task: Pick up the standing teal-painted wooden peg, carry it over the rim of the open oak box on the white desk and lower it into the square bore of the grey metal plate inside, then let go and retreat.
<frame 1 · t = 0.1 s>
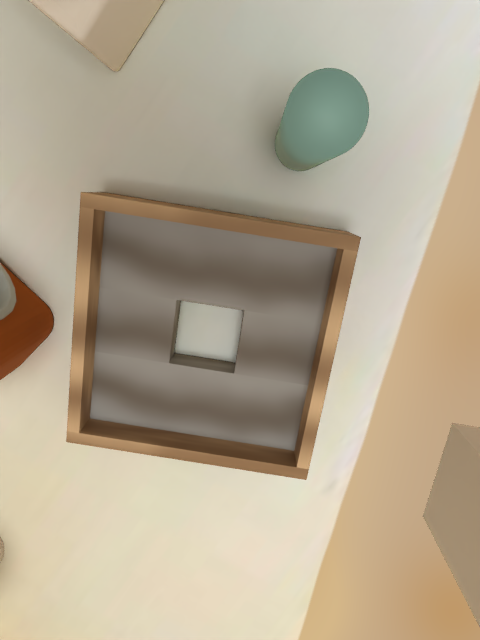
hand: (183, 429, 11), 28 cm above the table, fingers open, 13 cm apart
socket box: (209, 328, 40), on the table
peg: (300, 143, 36), on the table
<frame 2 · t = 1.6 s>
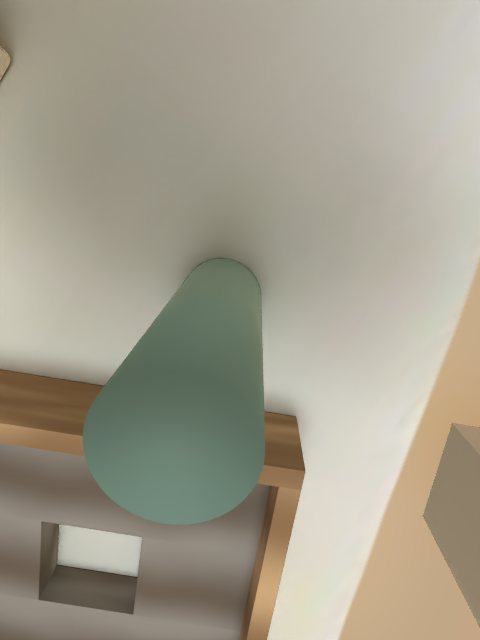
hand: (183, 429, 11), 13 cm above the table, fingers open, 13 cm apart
socket box: (103, 536, 28), on the table
peg: (222, 297, 23), on the table
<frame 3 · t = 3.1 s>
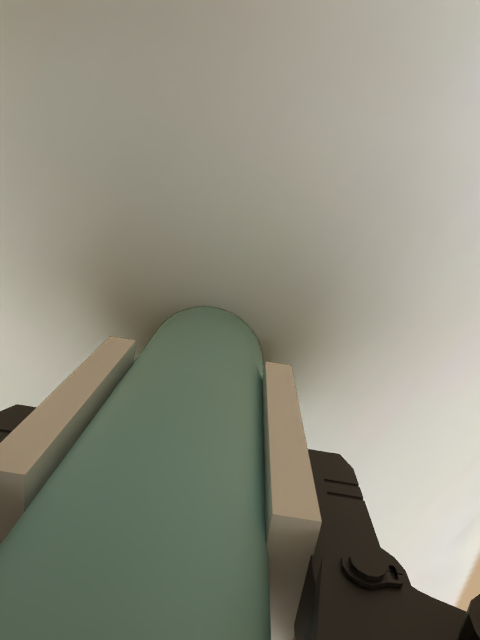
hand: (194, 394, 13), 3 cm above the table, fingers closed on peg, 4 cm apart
peg: (205, 362, 16), on the table, touching gripper
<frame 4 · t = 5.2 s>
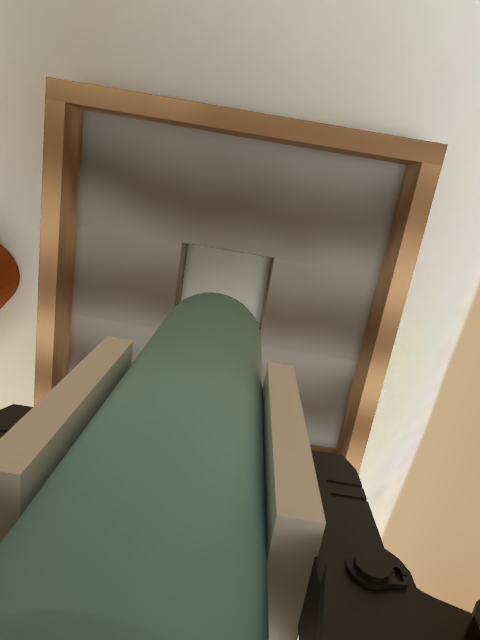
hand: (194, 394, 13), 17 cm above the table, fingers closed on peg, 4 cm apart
socket box: (224, 286, 30), on the table
peg: (211, 341, 18), point 12 cm above the table, touching gripper
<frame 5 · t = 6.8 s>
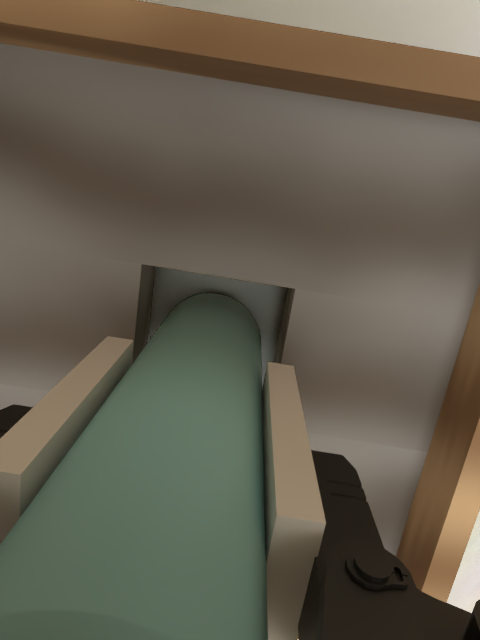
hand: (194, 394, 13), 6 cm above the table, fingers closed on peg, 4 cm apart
socket box: (214, 329, 19), on the table
peg: (210, 342, 18), point 1 cm above the table, touching gripper
when the fingers open (4 cm above the table, at t = 7.4 s): peg stays where it is, resting in socket box.
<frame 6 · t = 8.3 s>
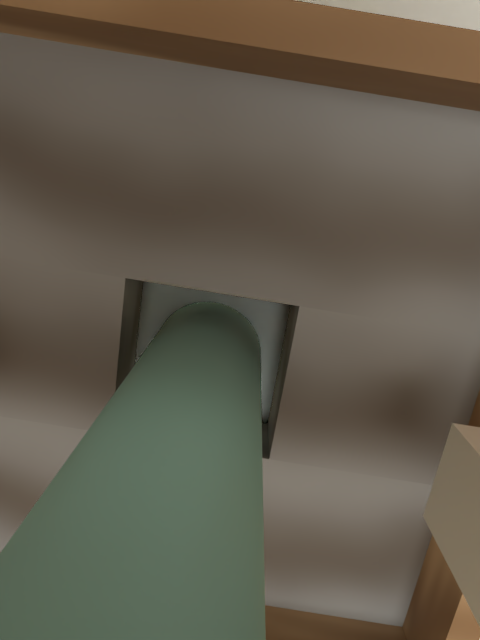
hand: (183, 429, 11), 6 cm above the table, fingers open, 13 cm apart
socket box: (208, 348, 17), on the table
peg: (208, 352, 18), resting in socket box
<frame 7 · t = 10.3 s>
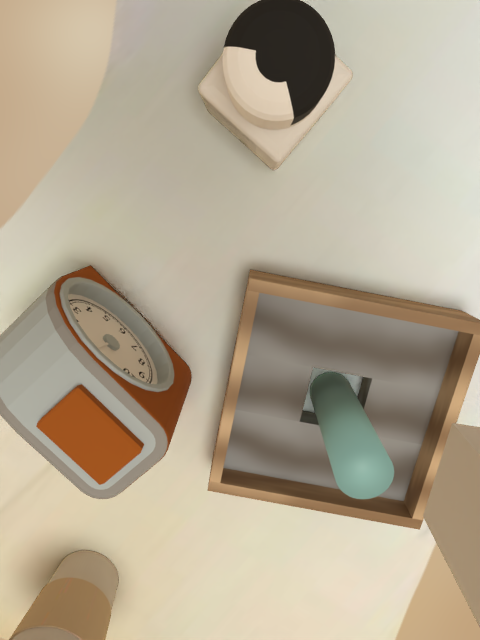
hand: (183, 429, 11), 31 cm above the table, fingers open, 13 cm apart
coffee cup: (88, 575, 51), on the table
socket box: (330, 389, 45), on the table
peg: (330, 391, 45), resting in socket box
container: (270, 104, 39), on the table
alarm clock: (118, 348, 44), on the table
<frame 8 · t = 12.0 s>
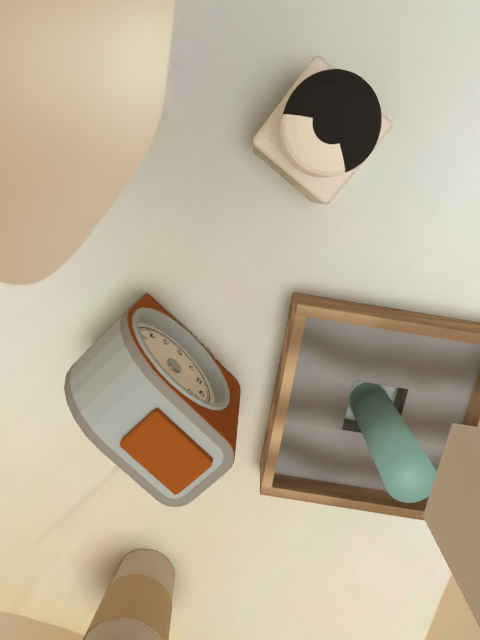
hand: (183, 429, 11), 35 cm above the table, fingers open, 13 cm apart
coffee cup: (147, 571, 56), on the table
socket box: (368, 399, 48), on the table
peg: (368, 400, 49), resting in socket box
container: (310, 143, 42), on the table
alarm clock: (173, 366, 49), on the table
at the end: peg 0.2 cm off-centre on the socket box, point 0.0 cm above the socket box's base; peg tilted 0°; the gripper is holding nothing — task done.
